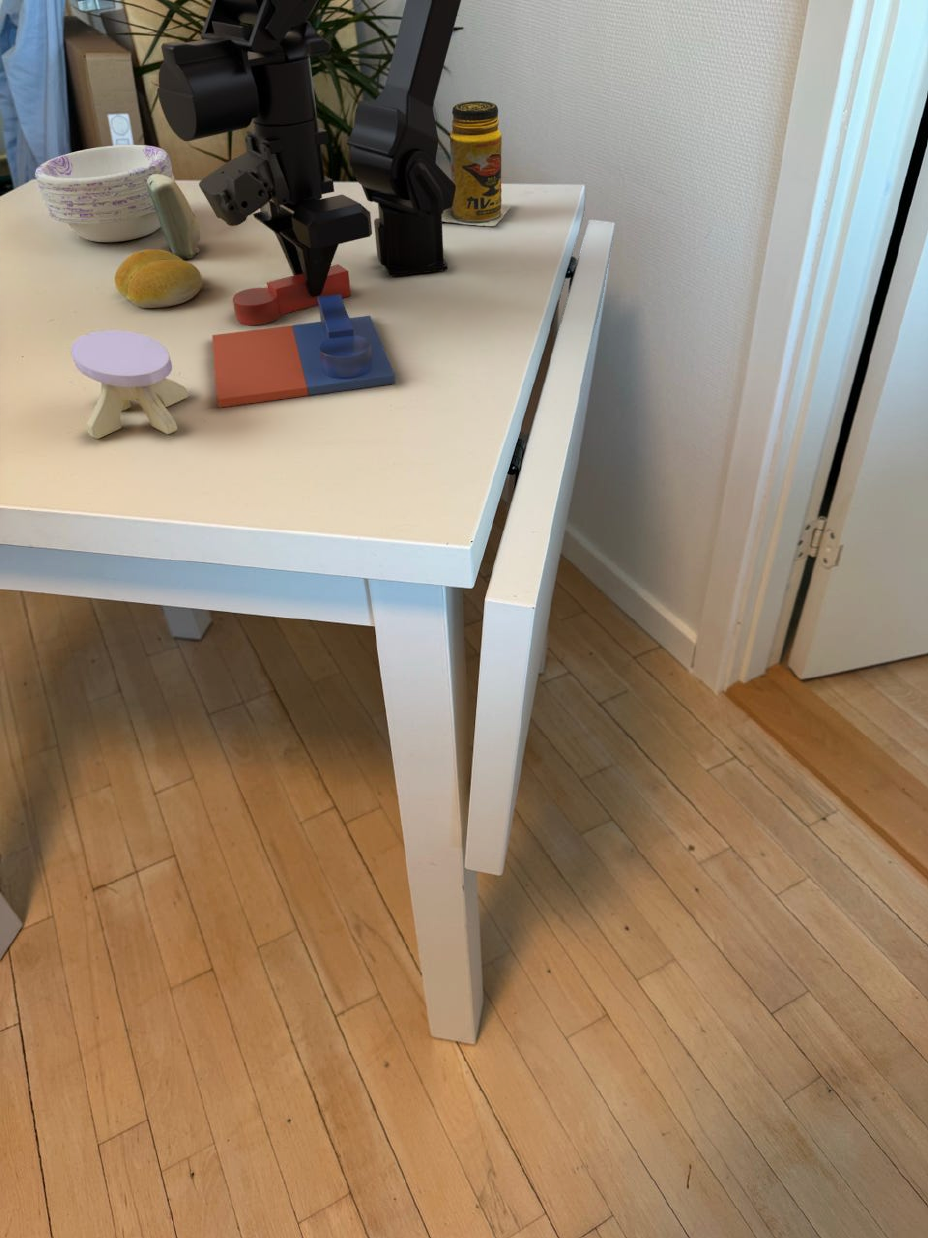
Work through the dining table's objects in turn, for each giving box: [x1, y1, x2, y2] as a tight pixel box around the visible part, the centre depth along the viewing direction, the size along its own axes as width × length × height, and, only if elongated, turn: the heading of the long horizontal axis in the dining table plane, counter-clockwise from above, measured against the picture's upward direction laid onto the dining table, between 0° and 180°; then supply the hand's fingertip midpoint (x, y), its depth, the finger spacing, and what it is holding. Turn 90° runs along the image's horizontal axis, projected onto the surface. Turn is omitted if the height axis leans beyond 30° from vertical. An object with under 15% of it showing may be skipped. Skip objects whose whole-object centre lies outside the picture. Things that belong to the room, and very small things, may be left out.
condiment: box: [442, 100, 512, 227], centre depth 104 cm, size 7×8×12 cm
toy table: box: [70, 329, 189, 440], centre depth 70 cm, size 10×9×6 cm
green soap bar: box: [147, 174, 202, 261], centre depth 98 cm, size 6×5×8 cm
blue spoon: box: [317, 294, 372, 379], centre depth 78 cm, size 12×4×3 cm, turn 14°
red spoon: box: [232, 264, 352, 326], centre depth 87 cm, size 12×4×3 cm, turn 124°
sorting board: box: [211, 315, 396, 409], centre depth 78 cm, size 15×13×1 cm
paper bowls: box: [34, 144, 176, 243], centre depth 104 cm, size 15×15×8 cm
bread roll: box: [114, 248, 203, 309], centre depth 90 cm, size 8×9×4 cm
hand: (310, 291), depth 88 cm, fingers closed on red spoon, 2 cm apart
